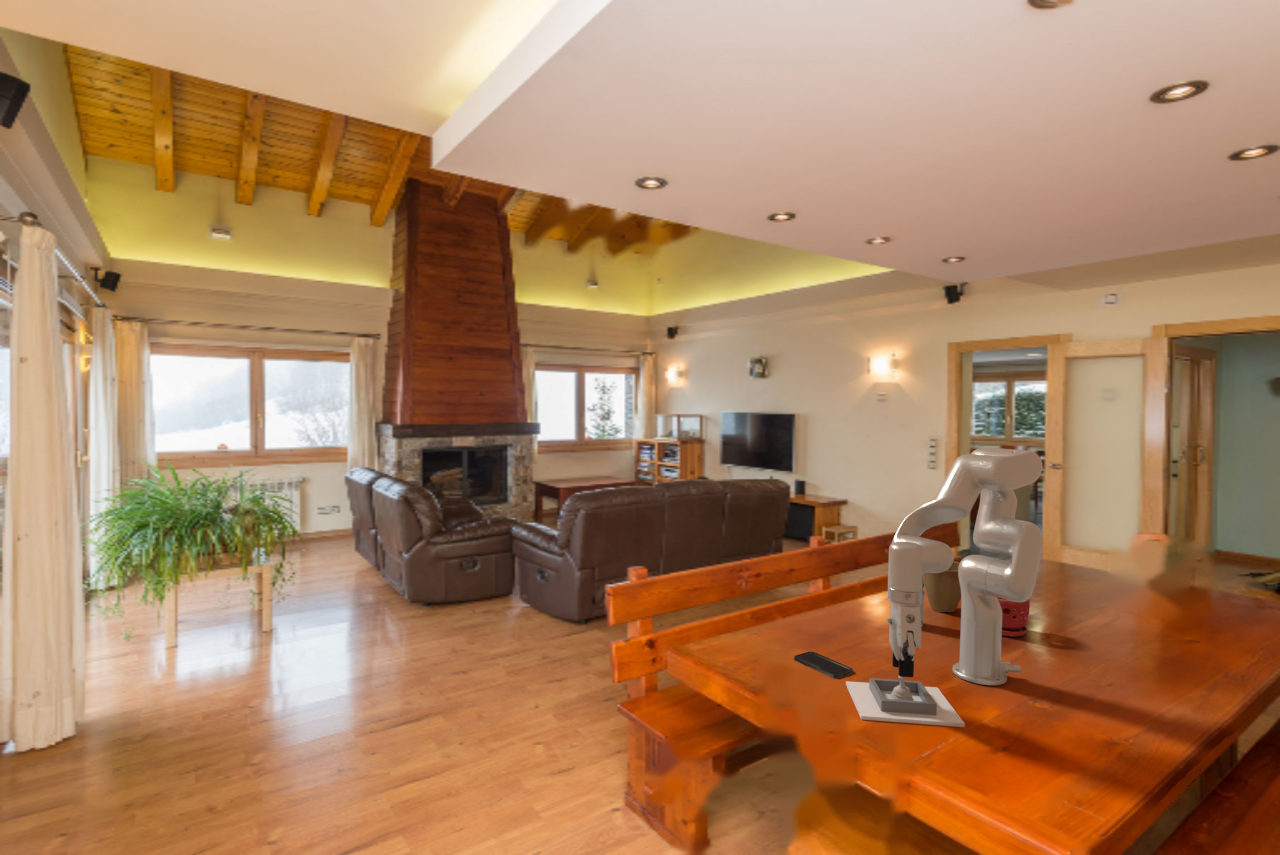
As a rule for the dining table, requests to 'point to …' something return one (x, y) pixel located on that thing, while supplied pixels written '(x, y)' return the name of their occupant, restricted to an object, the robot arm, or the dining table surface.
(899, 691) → the chalice
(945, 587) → the plant pot
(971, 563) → the robot arm
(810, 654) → the phone
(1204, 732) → the dining table surface
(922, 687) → the holder
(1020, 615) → the plant pot
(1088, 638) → the dining table surface
